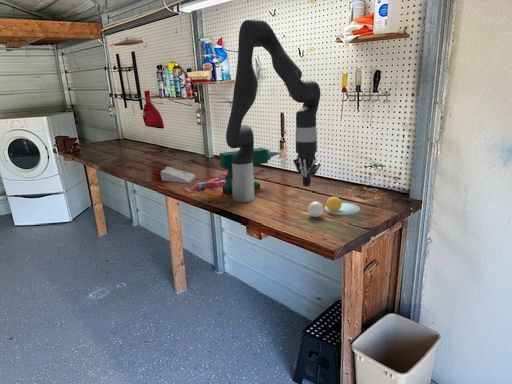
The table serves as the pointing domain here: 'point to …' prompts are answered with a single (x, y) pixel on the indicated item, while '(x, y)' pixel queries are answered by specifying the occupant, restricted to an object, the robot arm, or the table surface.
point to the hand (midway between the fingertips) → (306, 186)
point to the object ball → (333, 204)
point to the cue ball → (315, 209)
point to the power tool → (258, 158)
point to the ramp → (176, 175)
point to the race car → (209, 183)
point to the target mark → (345, 209)
